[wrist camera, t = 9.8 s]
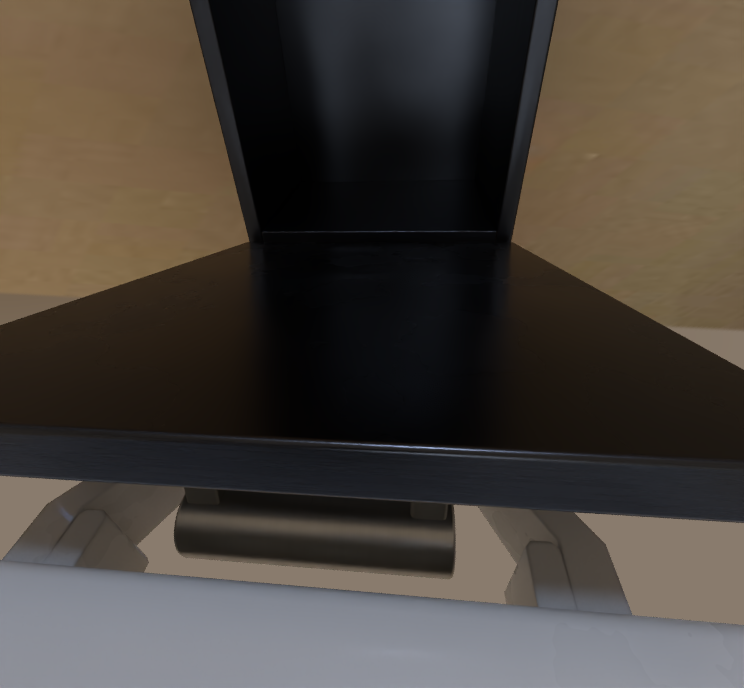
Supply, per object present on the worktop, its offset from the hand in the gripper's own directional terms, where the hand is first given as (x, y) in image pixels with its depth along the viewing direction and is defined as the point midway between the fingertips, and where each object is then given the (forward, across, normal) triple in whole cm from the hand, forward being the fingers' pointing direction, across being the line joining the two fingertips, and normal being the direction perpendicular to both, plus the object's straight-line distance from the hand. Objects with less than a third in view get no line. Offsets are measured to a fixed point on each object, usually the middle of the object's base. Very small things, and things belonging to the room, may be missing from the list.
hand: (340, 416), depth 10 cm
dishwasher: (+22, 0, -8) cm, 23 cm away
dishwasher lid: (+4, 0, -2) cm, 4 cm away
